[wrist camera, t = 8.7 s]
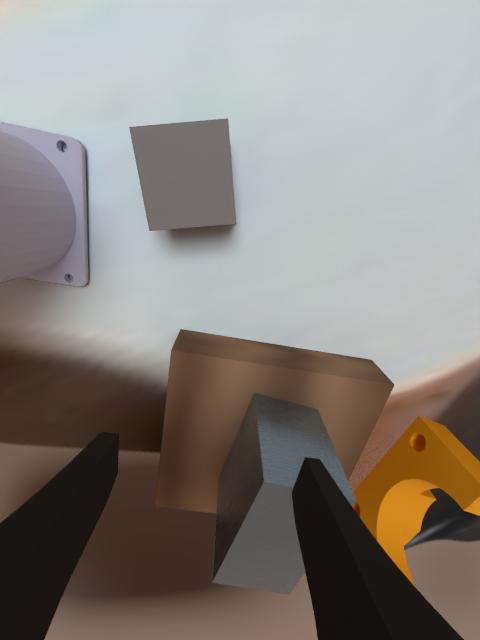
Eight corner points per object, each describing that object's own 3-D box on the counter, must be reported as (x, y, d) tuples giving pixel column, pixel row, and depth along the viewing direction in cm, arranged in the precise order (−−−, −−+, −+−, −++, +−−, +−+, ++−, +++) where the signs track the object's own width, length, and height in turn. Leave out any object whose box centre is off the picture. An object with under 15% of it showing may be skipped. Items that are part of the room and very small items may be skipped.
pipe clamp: (377, 515, 27) (418, 603, 21) (340, 504, 26) (371, 592, 20) (458, 430, 23) (539, 508, 17) (417, 414, 22) (486, 490, 16)
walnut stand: (164, 472, 24) (154, 506, 21) (180, 329, 18) (171, 350, 16) (316, 489, 25) (326, 524, 22) (371, 360, 20) (394, 384, 17)
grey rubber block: (169, 226, 16) (149, 230, 12) (156, 148, 15) (129, 127, 11) (235, 220, 16) (236, 223, 12) (229, 142, 14) (228, 118, 11)
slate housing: (213, 488, 20) (206, 594, 15) (254, 392, 17) (264, 481, 11) (268, 499, 21) (281, 605, 15) (317, 409, 18) (356, 501, 12)
